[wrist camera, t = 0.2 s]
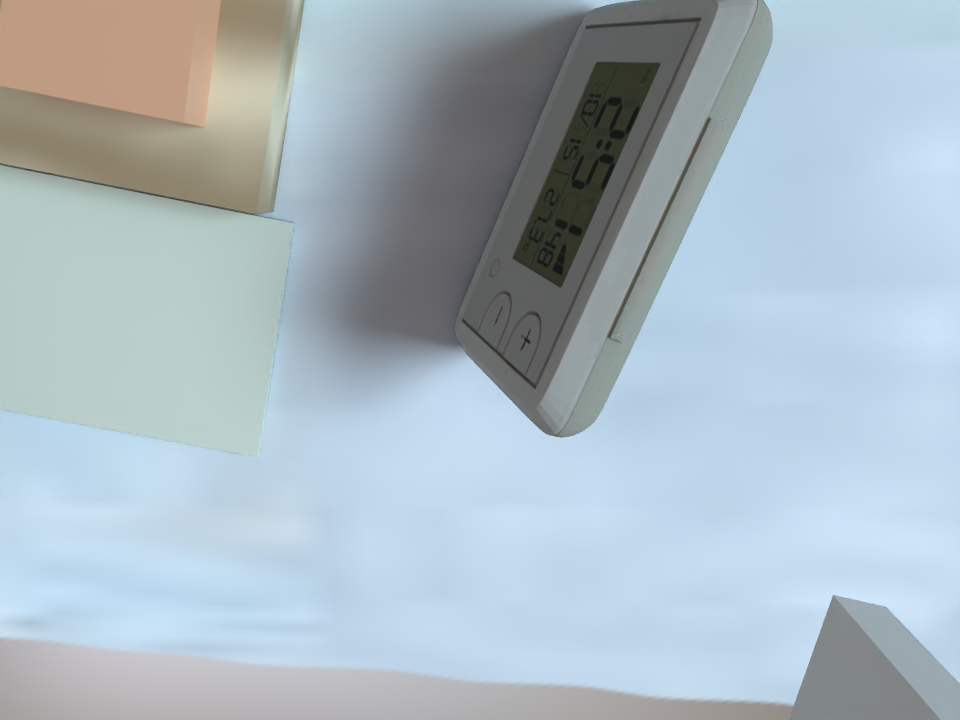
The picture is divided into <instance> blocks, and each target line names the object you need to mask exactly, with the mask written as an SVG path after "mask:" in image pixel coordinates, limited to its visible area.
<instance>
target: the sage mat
mask: <svg viewBox="0 0 960 720" xmlns="http://www.w3.org/2000/svg"><path fill="white" fill-rule="evenodd" d="M294 224H295V223H293V222H288V221H283V220H278V219H273V218H268V217H263V216H258V215H253V214H248V213H243V212H238V211H233V210H228V209H223V208H217V207H212V206H207V205H202V204H197V203H192V202H187V201H182V200H177V199H172V198H167V197H162V196H157V195H152V194H147V193H142V192H137V191H132V190H127V189H122V188H117V187H112V186H107V185H102V184H97V183H92V182H87V181H82V180H77V179H72V178H67V177H62V176H56V175H51V174H46V173H41V172H36V171H31V170H26V169H21V168H16V167H11V166H6V165H1V164H0V409H2V410H8V411H13V412H19V413H24V414H29V415H35V416H40V417H45V418H51V419H56V420H61V421H67V422H72V423H77V424H83V425H88V426H94V427H99V428H104V429H110V430H115V431H120V432H126V433H131V434H136V435H142V436H147V437H153V438H158V439H163V440H169V441H174V442H179V443H185V444H190V445H195V446H201V447H206V448H211V449H217V450H222V451H228V452H233V453H238V454H244V455H249V456H254V457H258V456H259V454H260V448H261V441H262V435H263V428H264V421H265V415H266V408H267V402H268V395H269V388H270V382H271V375H272V369H273V362H274V356H275V349H276V342H277V336H278V329H279V323H280V316H281V309H282V303H283V296H284V290H285V283H286V277H287V270H288V263H289V257H290V250H291V244H292V237H293V230H294Z"/></svg>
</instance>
